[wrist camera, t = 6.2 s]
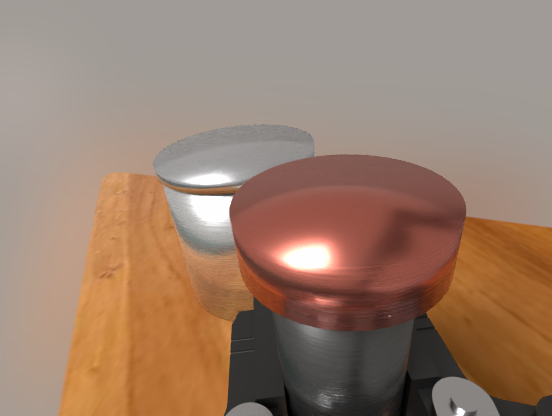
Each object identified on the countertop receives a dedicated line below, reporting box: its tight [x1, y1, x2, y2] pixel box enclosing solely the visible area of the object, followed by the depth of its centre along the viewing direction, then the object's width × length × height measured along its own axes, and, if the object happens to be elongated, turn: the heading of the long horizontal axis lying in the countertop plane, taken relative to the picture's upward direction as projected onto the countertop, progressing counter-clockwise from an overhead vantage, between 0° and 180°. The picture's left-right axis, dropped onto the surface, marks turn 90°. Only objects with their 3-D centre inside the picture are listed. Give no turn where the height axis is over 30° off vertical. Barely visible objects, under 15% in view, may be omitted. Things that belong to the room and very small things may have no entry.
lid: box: [229, 155, 466, 416], centre depth 9 cm, size 10×10×13 cm
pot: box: [153, 125, 314, 321], centre depth 22 cm, size 9×9×10 cm
